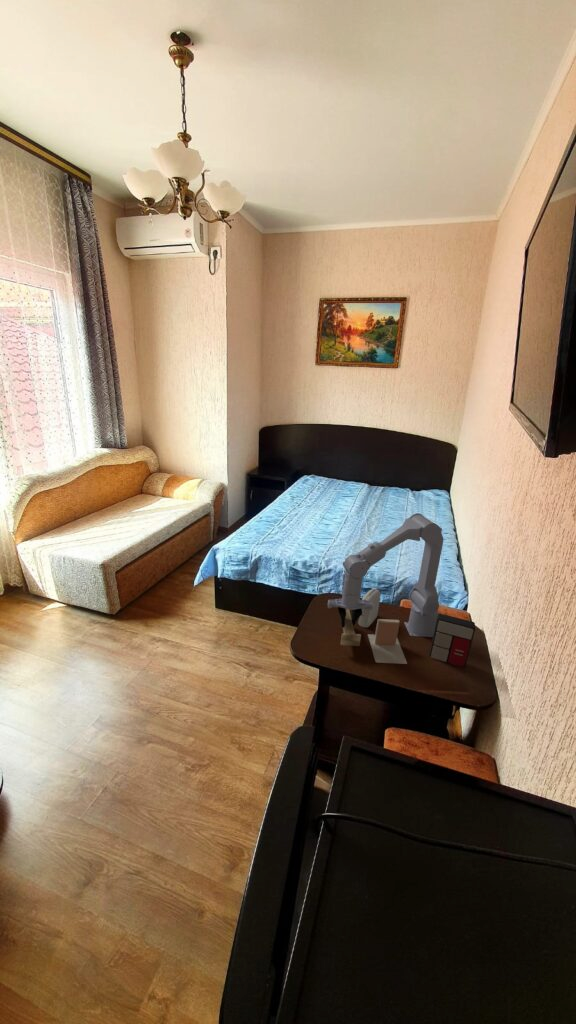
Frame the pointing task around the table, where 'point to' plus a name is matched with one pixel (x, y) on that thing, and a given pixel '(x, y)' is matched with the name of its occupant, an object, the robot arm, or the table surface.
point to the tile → (386, 631)
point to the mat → (387, 652)
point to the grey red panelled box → (452, 639)
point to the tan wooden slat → (349, 632)
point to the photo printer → (367, 614)
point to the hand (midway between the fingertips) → (347, 626)
